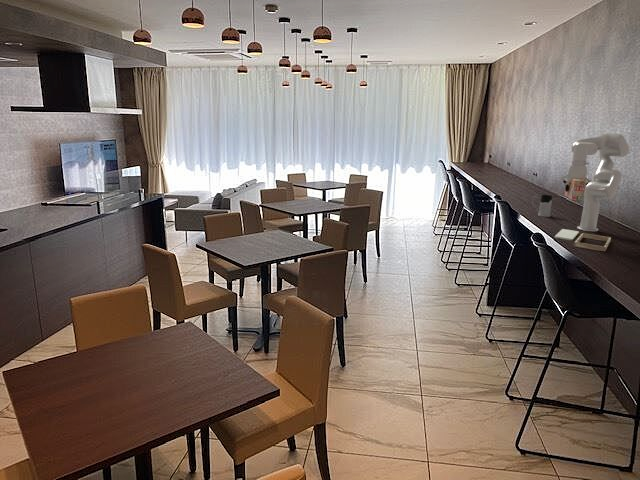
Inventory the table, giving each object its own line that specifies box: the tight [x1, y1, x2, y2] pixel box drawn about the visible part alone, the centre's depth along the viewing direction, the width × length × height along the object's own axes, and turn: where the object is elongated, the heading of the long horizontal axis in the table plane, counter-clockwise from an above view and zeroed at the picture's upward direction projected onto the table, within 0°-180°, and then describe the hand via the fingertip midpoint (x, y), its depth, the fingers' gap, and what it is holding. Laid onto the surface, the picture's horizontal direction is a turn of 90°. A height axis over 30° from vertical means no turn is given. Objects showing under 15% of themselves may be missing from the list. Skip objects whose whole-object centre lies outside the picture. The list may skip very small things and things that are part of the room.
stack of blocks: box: [563, 178, 587, 202], centre depth 308 cm, size 21×6×12 cm, turn 166°
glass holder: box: [531, 194, 553, 218], centre depth 375 cm, size 9×14×15 cm, turn 57°
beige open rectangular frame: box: [573, 233, 612, 252], centre depth 296 cm, size 29×16×2 cm, turn 145°
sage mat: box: [554, 228, 580, 241], centre depth 315 cm, size 26×10×1 cm, turn 145°
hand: (574, 192), depth 308 cm, fingers closed on stack of blocks, 7 cm apart
